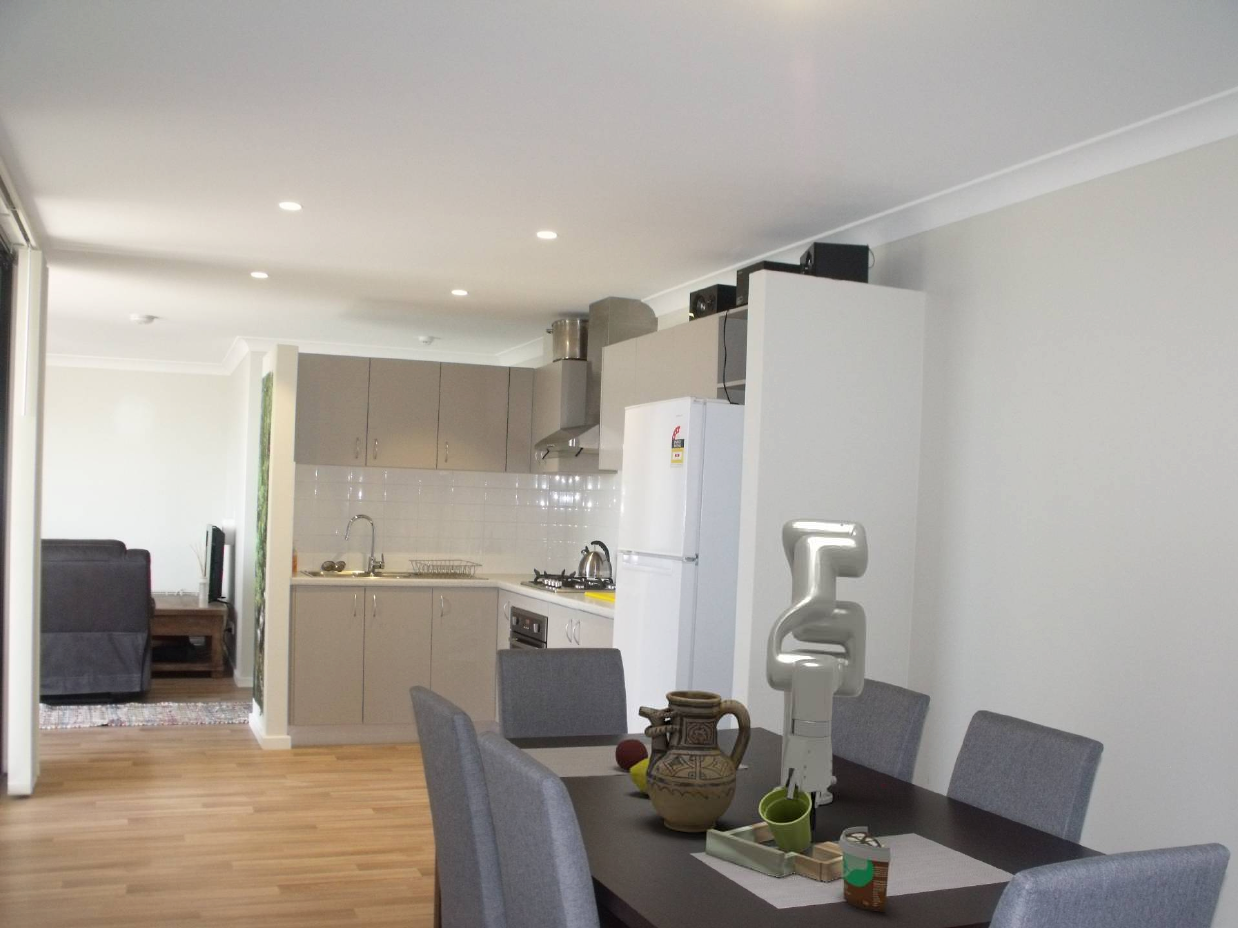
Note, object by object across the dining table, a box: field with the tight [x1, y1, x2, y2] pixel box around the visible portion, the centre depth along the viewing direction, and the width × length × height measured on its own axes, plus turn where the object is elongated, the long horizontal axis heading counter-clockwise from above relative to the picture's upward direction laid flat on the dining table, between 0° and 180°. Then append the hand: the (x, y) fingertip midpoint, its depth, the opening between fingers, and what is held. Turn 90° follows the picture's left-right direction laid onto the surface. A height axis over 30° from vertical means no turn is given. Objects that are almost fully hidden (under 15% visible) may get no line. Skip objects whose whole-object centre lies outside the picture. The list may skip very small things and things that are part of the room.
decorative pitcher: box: [637, 690, 752, 834], centre depth 214 cm, size 22×18×25 cm
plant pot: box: [758, 787, 812, 854], centre depth 200 cm, size 9×9×9 cm
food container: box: [838, 826, 891, 912], centre depth 177 cm, size 12×6×10 cm, turn 5°
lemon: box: [629, 757, 650, 795], centre depth 236 cm, size 11×8×8 cm
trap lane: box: [705, 821, 886, 882], centre depth 199 cm, size 26×22×4 cm
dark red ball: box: [614, 738, 649, 772], centre depth 258 cm, size 7×8×7 cm
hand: (805, 828), depth 204 cm, fingers closed
